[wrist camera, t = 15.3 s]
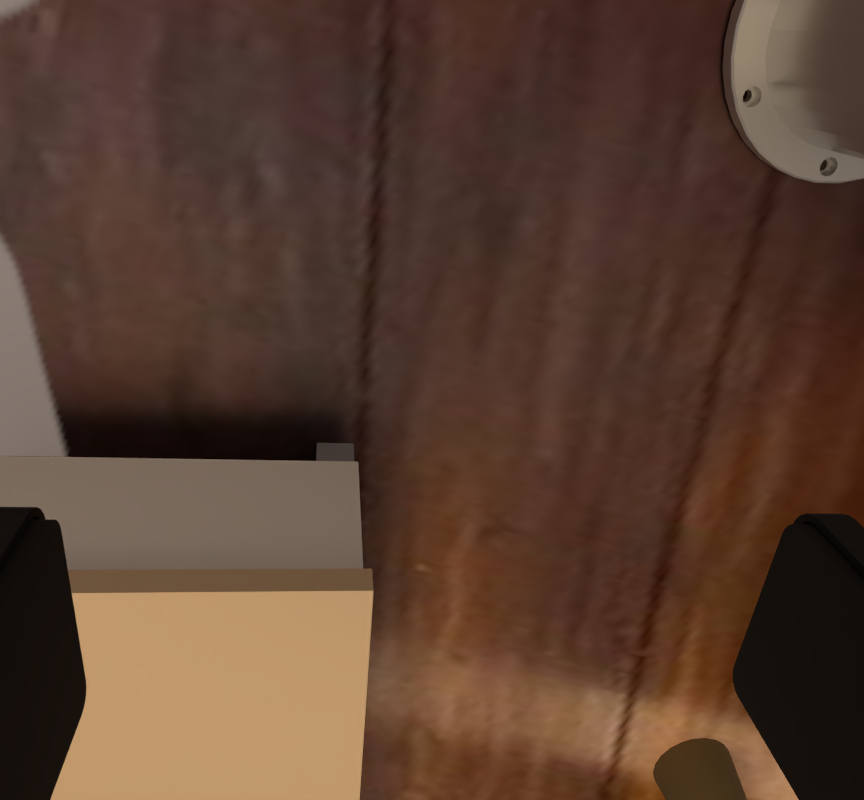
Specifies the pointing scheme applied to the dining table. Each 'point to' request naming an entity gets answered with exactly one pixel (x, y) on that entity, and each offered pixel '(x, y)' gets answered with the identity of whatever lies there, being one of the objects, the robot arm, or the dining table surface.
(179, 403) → the dining table surface
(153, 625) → the low cabinet
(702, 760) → the olive pawn
